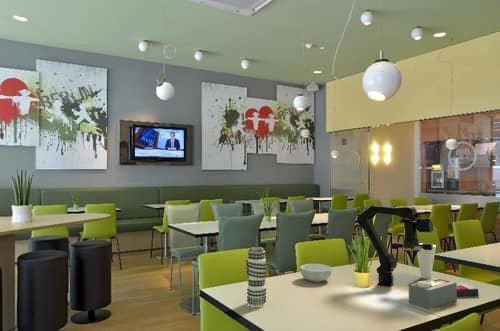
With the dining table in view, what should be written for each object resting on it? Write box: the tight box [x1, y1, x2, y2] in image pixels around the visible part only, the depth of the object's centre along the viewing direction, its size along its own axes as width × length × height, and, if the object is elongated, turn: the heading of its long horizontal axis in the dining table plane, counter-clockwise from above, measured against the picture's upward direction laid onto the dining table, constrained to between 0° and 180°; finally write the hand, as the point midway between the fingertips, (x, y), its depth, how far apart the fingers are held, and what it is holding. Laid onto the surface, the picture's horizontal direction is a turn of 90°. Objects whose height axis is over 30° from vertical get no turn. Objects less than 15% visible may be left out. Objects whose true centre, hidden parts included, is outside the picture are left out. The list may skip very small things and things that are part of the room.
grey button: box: [416, 280, 430, 289], centre depth 172 cm, size 5×5×3 cm
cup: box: [416, 242, 437, 280], centre depth 216 cm, size 11×11×18 cm
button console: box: [408, 277, 458, 310], centre depth 176 cm, size 10×21×8 cm, turn 123°
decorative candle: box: [245, 246, 268, 308], centre depth 173 cm, size 9×9×25 cm
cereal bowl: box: [299, 263, 333, 283], centre depth 212 cm, size 17×17×7 cm
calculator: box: [456, 282, 480, 298], centre depth 188 cm, size 11×4×15 cm
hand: (413, 263), depth 193 cm, fingers closed
